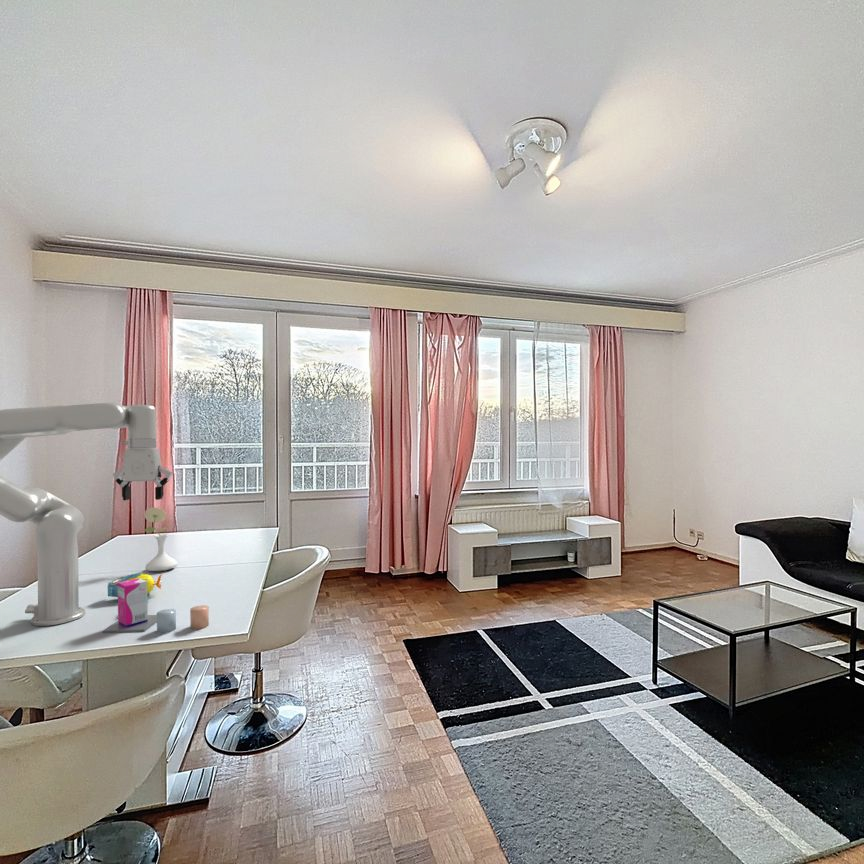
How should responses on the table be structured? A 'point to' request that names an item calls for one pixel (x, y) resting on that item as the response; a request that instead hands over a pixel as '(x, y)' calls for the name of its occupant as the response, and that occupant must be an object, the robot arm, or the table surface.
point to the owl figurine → (150, 582)
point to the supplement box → (132, 602)
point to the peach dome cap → (199, 617)
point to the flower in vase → (159, 542)
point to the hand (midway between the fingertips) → (142, 499)
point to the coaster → (135, 628)
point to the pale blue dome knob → (166, 621)
